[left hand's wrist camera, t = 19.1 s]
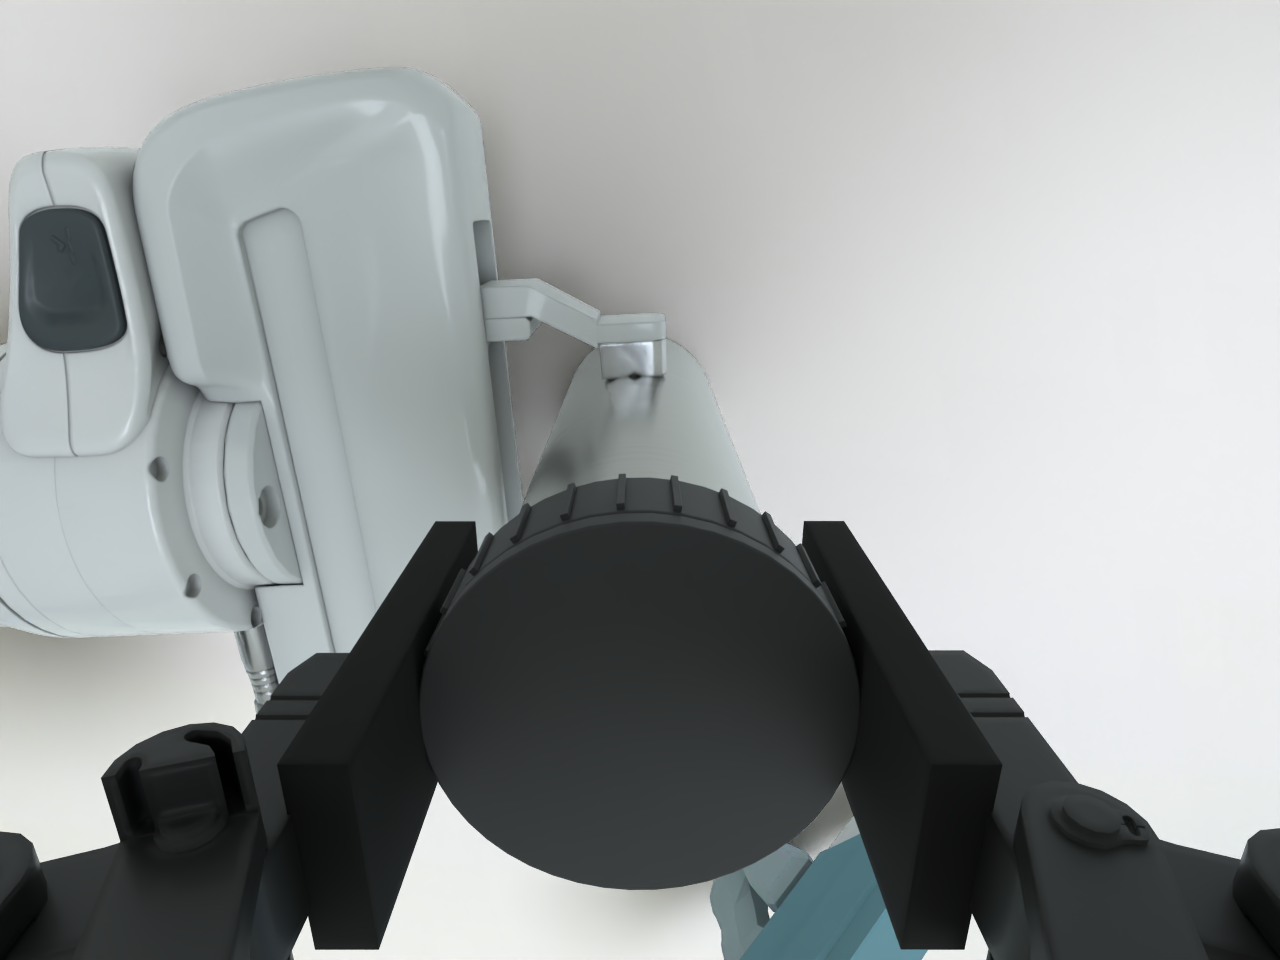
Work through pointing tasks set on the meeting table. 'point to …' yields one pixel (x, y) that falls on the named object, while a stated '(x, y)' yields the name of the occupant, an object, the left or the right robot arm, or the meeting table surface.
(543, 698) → the lid
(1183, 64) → the meeting table surface
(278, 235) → the right robot arm
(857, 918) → the toy gun
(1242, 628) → the meeting table surface
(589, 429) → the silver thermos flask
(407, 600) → the left robot arm
